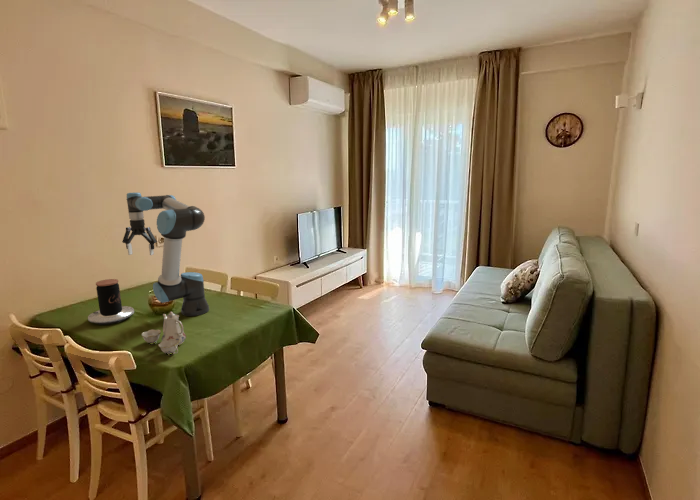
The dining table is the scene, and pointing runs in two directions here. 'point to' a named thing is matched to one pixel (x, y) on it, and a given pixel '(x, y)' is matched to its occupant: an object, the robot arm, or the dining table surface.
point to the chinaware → (167, 334)
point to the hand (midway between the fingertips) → (141, 254)
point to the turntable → (99, 318)
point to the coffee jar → (109, 297)
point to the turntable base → (111, 322)
